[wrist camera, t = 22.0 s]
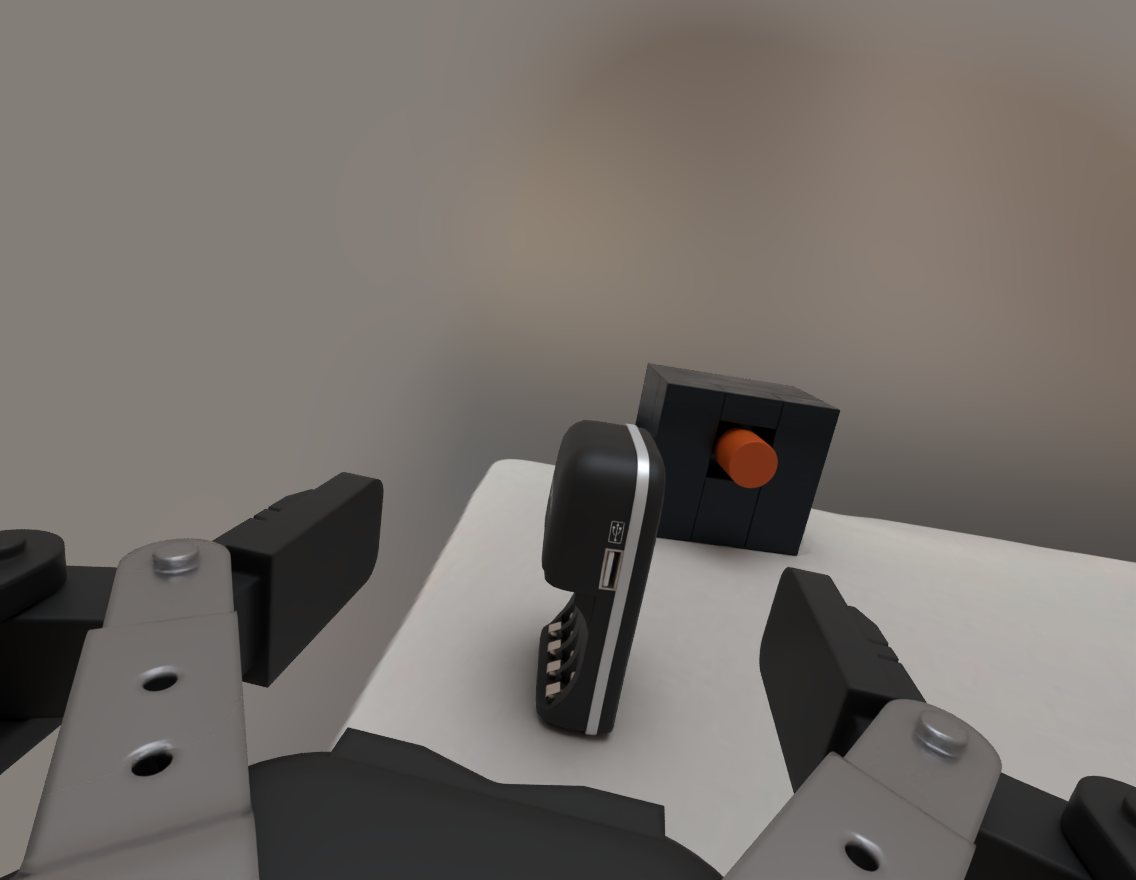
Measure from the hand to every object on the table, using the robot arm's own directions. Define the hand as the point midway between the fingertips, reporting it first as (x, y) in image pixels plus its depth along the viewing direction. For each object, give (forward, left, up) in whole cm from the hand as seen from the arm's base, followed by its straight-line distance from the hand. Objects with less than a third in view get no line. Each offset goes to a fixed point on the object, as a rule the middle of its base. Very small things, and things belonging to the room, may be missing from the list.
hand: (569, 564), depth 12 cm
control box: (+8, +34, -12) cm, 37 cm away
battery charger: (0, +12, -12) cm, 17 cm away
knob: (+9, +29, -6) cm, 31 cm away
